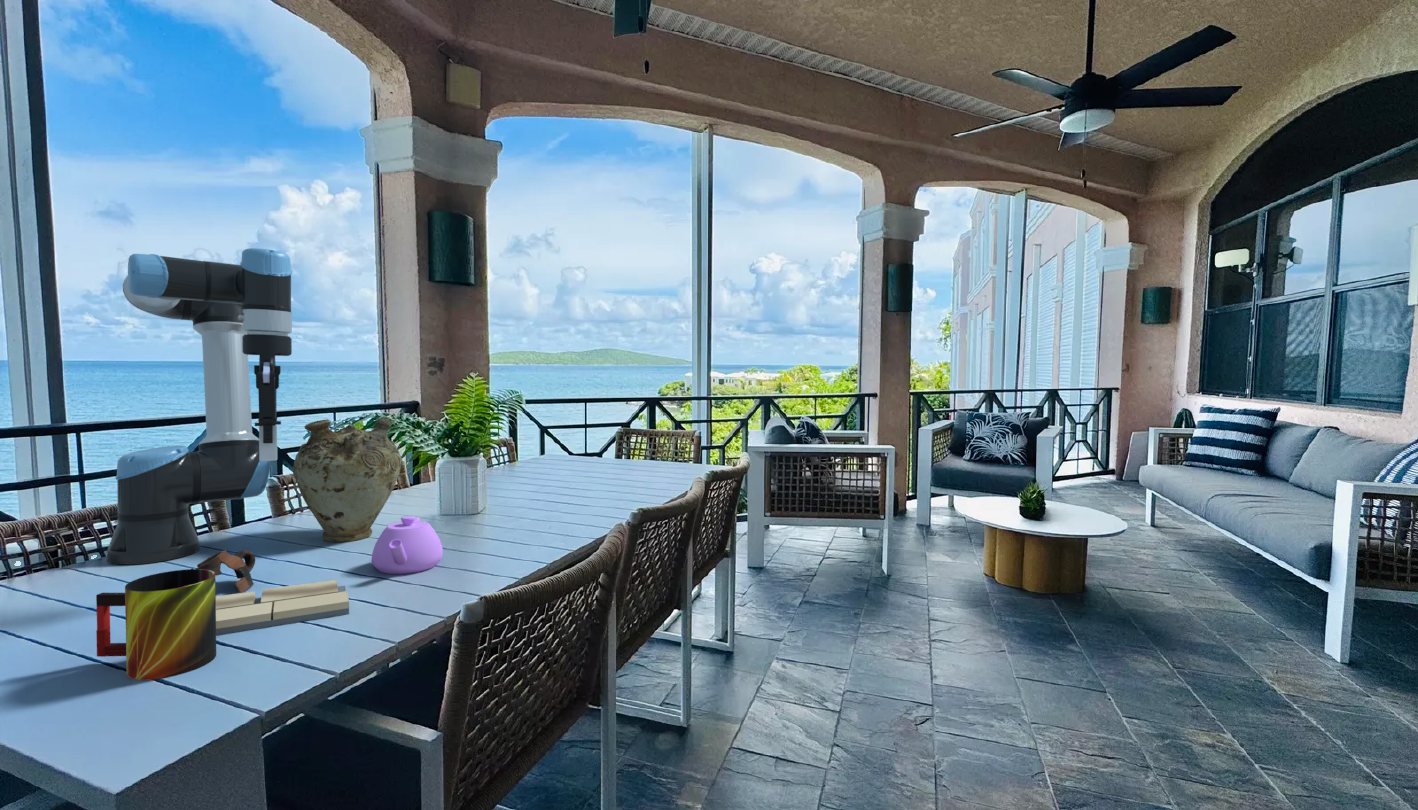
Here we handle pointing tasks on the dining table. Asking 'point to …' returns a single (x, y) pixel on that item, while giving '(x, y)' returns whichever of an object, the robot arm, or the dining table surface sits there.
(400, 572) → the teapot
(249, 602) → the plank near
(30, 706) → the dining table surface
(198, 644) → the mug
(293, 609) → the floor panel
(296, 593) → the plank far
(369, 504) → the vase
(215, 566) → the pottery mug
